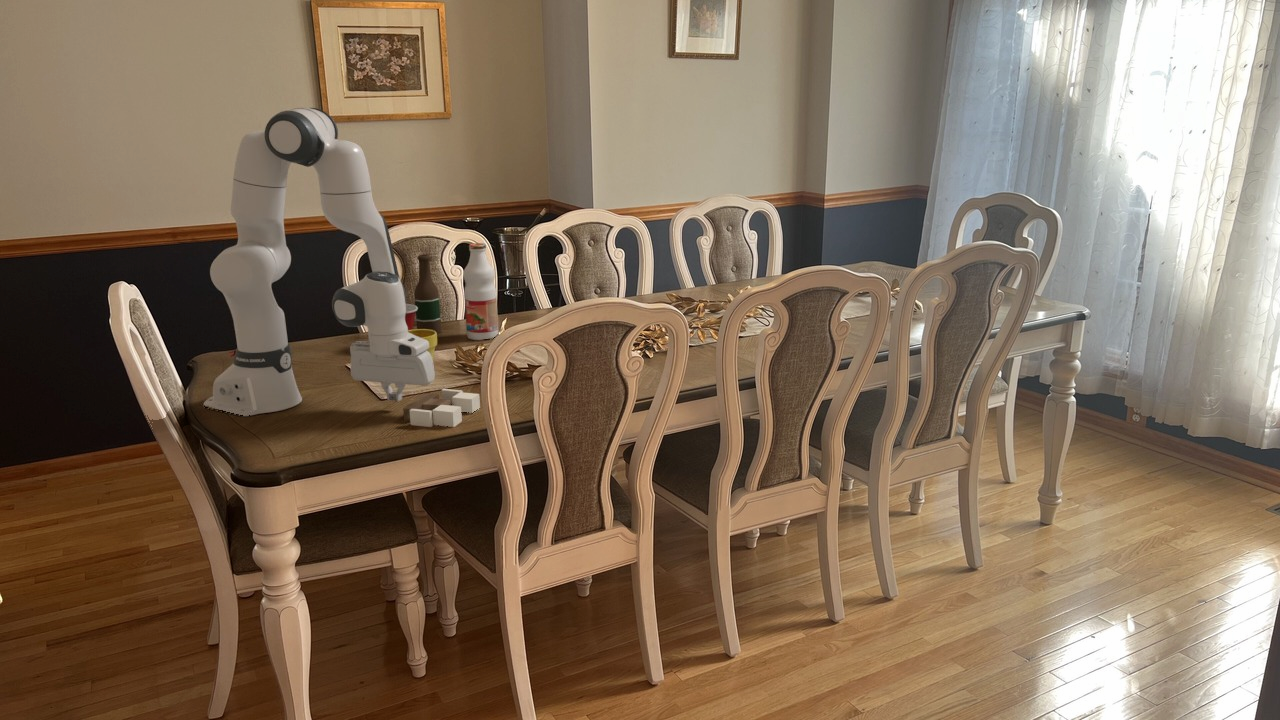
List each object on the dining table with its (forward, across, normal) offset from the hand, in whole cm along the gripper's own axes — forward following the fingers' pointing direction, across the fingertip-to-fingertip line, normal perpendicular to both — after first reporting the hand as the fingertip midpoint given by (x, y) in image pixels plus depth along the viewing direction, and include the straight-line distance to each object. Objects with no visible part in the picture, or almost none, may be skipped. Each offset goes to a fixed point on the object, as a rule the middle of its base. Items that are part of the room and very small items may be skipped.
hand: (394, 400), depth 217 cm
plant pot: (+2, -11, +31) cm, 33 cm away
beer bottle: (+2, -26, +65) cm, 70 cm away
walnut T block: (+2, +9, -1) cm, 9 cm away
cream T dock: (+2, +14, -1) cm, 14 cm away
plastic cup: (+2, -26, +49) cm, 56 cm away
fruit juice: (+2, -8, +65) cm, 65 cm away
